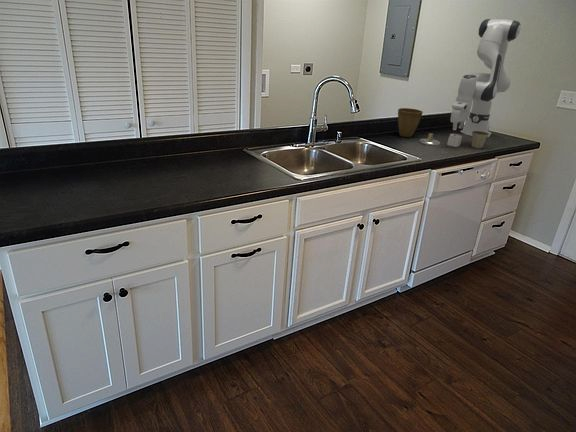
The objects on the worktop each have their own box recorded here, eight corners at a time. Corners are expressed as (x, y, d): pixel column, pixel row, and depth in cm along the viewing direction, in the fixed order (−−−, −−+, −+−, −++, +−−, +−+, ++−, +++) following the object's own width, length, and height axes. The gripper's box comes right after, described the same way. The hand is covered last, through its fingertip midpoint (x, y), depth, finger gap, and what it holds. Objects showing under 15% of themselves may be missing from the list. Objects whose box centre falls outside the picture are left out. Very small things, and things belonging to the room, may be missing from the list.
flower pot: (475, 149, 231) (479, 134, 227) (464, 145, 239) (468, 131, 236) (488, 149, 234) (492, 134, 230) (478, 145, 242) (481, 130, 238)
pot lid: (424, 139, 247) (426, 130, 245) (443, 143, 240) (445, 134, 238) (415, 142, 239) (417, 133, 237) (434, 146, 232) (436, 137, 229)
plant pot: (389, 133, 256) (393, 108, 249) (406, 132, 263) (410, 107, 256) (405, 139, 244) (410, 113, 238) (422, 137, 251) (428, 112, 244)
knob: (450, 143, 241) (452, 132, 239) (460, 145, 238) (463, 134, 235) (446, 145, 237) (448, 133, 234) (456, 147, 233) (459, 135, 230)
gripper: (463, 103, 236) (458, 126, 242) (451, 105, 222) (445, 130, 227) (474, 104, 233) (468, 128, 238) (462, 107, 218) (456, 132, 224)
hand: (457, 129), depth 233 cm, fingers open, 8 cm apart
